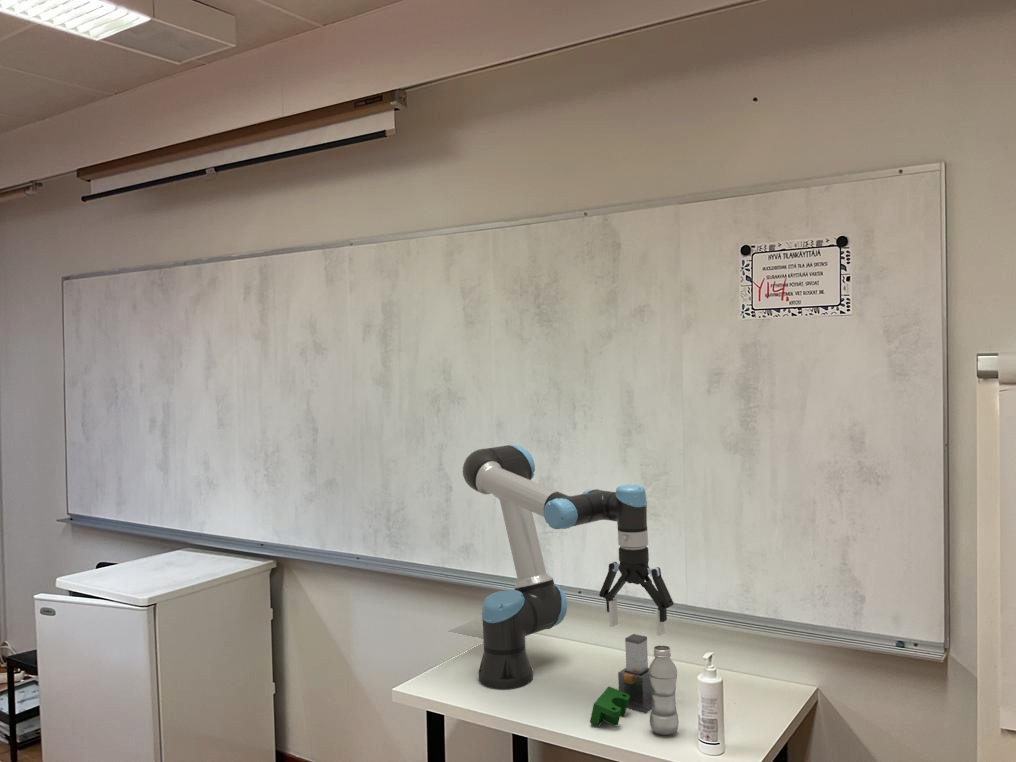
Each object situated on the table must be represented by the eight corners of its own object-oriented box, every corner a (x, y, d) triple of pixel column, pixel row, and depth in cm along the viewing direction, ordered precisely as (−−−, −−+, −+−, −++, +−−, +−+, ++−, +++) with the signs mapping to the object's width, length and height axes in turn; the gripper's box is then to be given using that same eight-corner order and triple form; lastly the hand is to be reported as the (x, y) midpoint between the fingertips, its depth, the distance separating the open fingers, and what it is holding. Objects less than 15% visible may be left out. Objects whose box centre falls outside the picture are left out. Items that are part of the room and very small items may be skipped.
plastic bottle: (651, 725, 197) (648, 642, 197) (680, 727, 196) (677, 644, 195) (648, 737, 191) (645, 651, 191) (677, 740, 189) (675, 653, 189)
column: (626, 695, 211) (624, 638, 210) (634, 690, 214) (633, 633, 214) (641, 699, 208) (639, 641, 208) (649, 693, 211) (647, 636, 211)
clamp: (612, 744, 198) (614, 718, 193) (589, 734, 200) (590, 708, 196) (630, 708, 207) (632, 682, 203) (607, 699, 209) (609, 673, 205)
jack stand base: (611, 704, 210) (610, 671, 210) (631, 691, 218) (630, 659, 218) (645, 713, 204) (644, 680, 204) (665, 699, 212) (664, 667, 212)
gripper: (584, 544, 215) (587, 625, 215) (670, 554, 199) (674, 642, 200) (599, 539, 221) (603, 618, 221) (684, 548, 205) (688, 633, 205)
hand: (636, 629), depth 210 cm, fingers open, 13 cm apart
